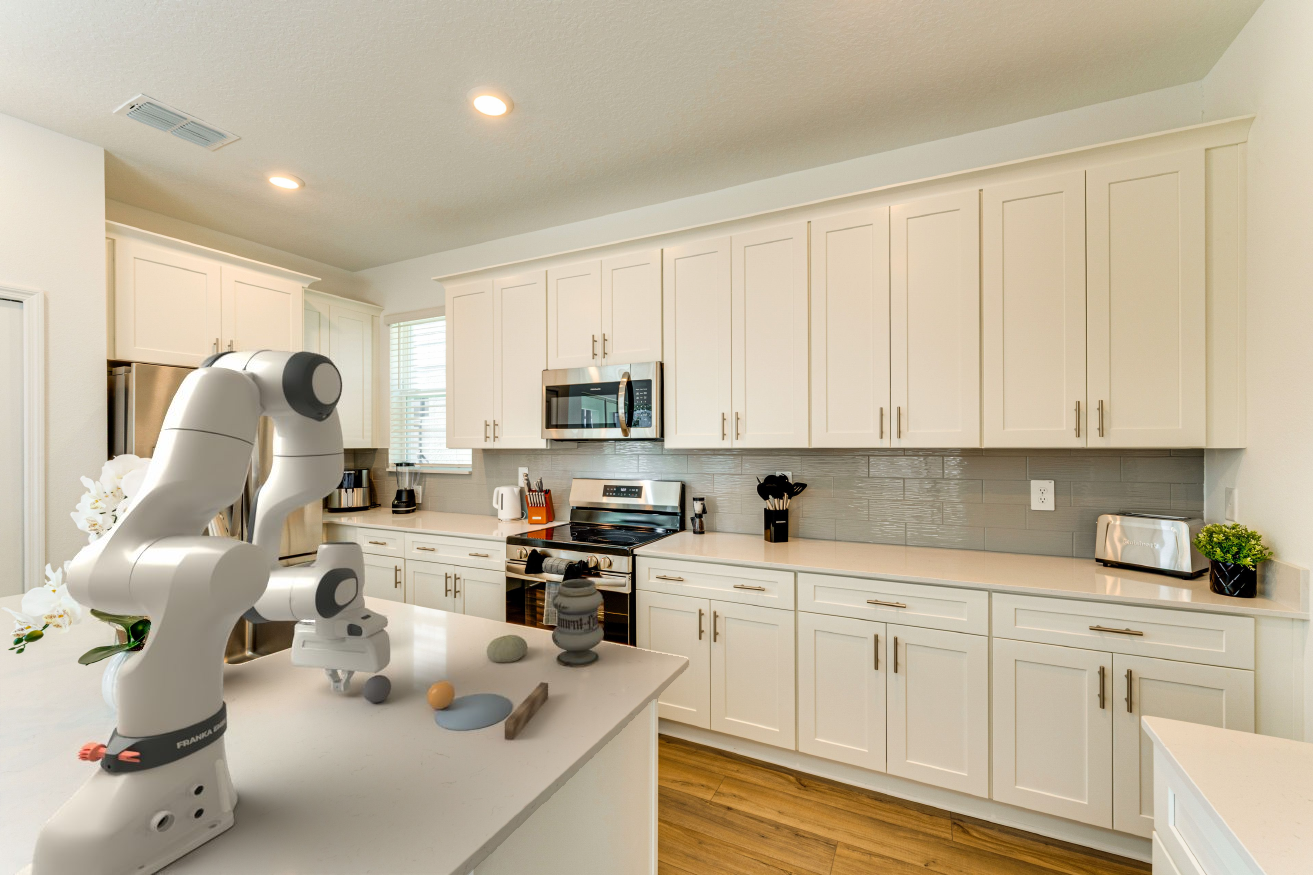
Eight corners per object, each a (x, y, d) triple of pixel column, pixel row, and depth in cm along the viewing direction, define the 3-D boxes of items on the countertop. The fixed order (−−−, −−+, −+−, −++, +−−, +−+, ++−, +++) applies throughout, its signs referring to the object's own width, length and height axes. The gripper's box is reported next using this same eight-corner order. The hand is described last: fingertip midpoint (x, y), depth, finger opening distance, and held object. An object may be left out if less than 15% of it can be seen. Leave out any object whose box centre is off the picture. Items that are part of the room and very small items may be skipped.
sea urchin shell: (480, 646, 136) (504, 619, 139) (503, 665, 138) (526, 639, 141) (485, 659, 128) (511, 631, 130) (510, 679, 130) (535, 651, 133)
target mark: (490, 733, 99) (490, 732, 99) (419, 725, 102) (419, 724, 102) (524, 697, 113) (524, 696, 113) (460, 691, 116) (460, 690, 116)
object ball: (445, 715, 106) (445, 688, 106) (421, 712, 107) (421, 686, 107) (459, 702, 111) (459, 677, 111) (436, 700, 112) (436, 675, 112)
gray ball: (379, 708, 109) (379, 682, 109) (357, 705, 110) (357, 680, 110) (396, 696, 114) (396, 671, 114) (374, 694, 115) (374, 669, 115)
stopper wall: (512, 739, 97) (512, 722, 97) (504, 738, 98) (504, 721, 98) (548, 697, 113) (548, 682, 113) (541, 696, 113) (541, 682, 113)
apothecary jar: (543, 666, 129) (543, 587, 128) (564, 647, 140) (564, 575, 140) (593, 671, 126) (593, 591, 126) (610, 651, 137) (610, 578, 137)
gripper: (282, 622, 112) (282, 692, 112) (374, 629, 108) (374, 701, 108) (307, 613, 118) (307, 678, 118) (395, 618, 115) (395, 686, 115)
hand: (340, 689), depth 113 cm, fingers closed
